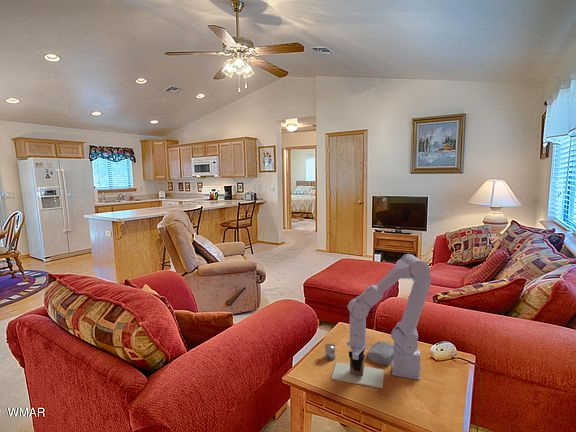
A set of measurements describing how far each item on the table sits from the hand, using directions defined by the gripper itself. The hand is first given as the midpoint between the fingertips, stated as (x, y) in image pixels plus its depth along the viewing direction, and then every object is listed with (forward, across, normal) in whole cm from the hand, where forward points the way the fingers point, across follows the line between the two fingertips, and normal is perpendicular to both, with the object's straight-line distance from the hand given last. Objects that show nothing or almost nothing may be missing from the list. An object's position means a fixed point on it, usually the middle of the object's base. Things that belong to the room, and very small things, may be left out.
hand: (357, 366), depth 118 cm
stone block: (+4, -15, +8) cm, 17 cm away
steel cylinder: (+4, -8, -12) cm, 15 cm away
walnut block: (+2, 0, 0) cm, 2 cm away
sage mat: (+3, 0, 0) cm, 3 cm away
